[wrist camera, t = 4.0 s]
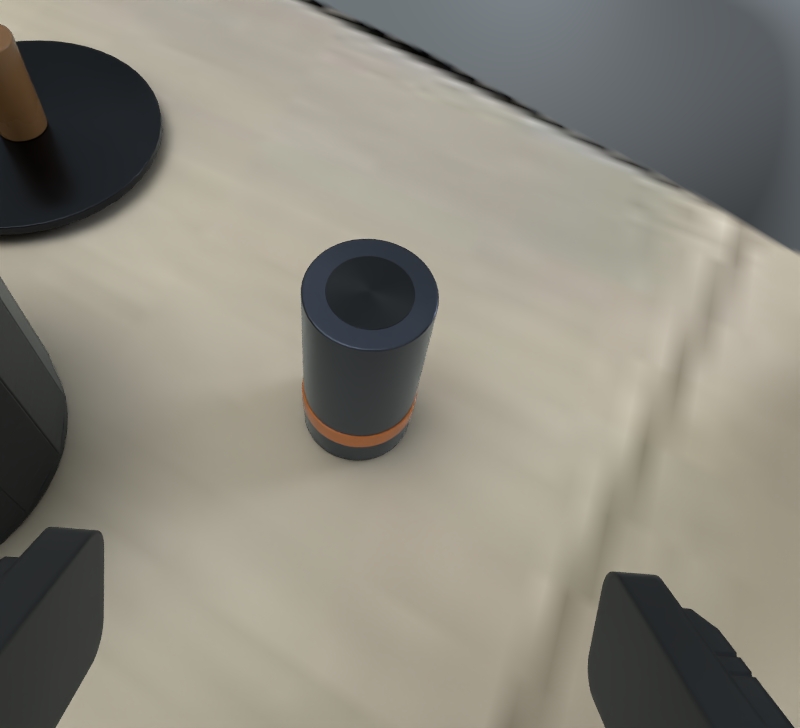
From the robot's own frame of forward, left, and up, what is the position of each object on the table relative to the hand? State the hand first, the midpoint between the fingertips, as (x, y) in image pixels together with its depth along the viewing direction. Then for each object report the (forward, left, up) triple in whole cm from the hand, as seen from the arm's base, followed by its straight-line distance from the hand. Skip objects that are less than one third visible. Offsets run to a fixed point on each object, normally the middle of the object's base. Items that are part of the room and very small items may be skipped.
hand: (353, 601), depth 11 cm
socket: (-10, -7, -17) cm, 20 cm away
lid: (-11, -30, -16) cm, 35 cm away
